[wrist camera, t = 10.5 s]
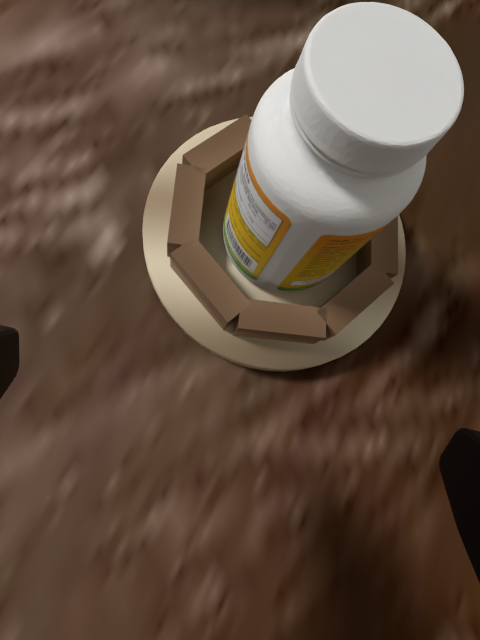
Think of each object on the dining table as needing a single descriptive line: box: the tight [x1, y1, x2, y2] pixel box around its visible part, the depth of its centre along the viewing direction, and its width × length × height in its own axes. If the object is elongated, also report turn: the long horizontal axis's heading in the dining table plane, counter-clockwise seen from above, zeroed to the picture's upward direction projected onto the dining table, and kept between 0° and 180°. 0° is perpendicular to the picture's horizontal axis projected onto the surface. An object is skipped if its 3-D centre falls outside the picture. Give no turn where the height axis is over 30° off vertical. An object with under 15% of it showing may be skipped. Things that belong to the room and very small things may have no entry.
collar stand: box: [142, 114, 406, 372], centre depth 19 cm, size 12×12×2 cm
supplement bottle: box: [223, 2, 464, 293], centre depth 15 cm, size 5×5×10 cm
